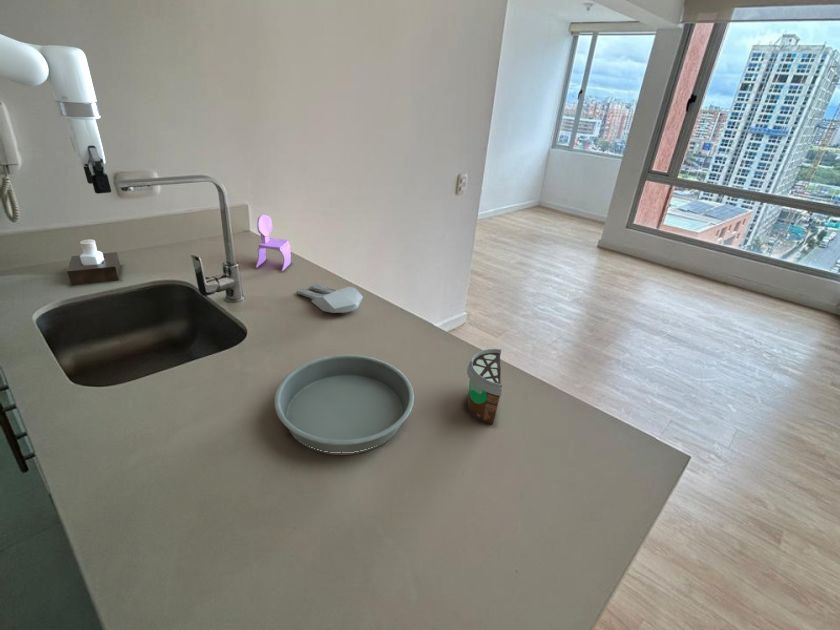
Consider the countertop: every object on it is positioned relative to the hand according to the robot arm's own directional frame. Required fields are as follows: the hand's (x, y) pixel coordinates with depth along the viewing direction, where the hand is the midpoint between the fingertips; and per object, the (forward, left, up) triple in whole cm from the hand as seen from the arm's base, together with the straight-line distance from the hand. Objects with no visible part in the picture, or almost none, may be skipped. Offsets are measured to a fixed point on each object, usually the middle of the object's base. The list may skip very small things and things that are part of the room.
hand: (99, 187), depth 108 cm
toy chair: (+39, -2, -24) cm, 46 cm away
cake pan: (+37, -71, -24) cm, 84 cm away
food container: (+61, -79, -24) cm, 103 cm away
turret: (+47, -31, -24) cm, 61 cm away
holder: (-6, +5, -24) cm, 25 cm away
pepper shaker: (-6, +5, -24) cm, 26 cm away
